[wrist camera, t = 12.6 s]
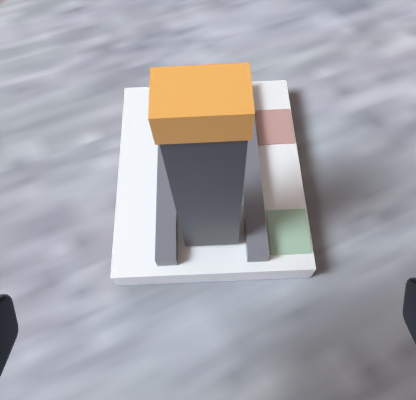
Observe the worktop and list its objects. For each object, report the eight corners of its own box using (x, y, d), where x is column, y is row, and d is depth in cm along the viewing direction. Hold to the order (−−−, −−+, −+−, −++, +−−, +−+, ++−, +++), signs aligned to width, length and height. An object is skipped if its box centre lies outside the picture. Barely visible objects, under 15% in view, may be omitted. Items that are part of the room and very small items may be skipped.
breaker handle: (240, 245, 19) (254, 113, 10) (183, 248, 20) (148, 119, 10) (237, 212, 20) (249, 62, 11) (183, 215, 20) (150, 67, 11)
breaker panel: (309, 277, 20) (320, 263, 18) (117, 285, 21) (105, 273, 18) (282, 96, 26) (288, 69, 24) (130, 104, 26) (121, 77, 24)
